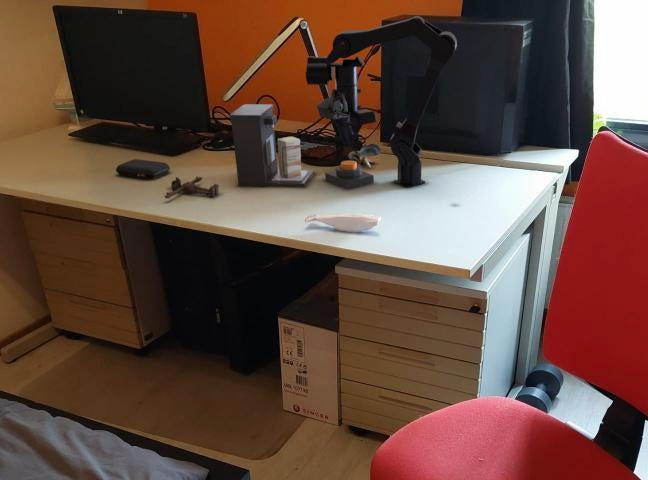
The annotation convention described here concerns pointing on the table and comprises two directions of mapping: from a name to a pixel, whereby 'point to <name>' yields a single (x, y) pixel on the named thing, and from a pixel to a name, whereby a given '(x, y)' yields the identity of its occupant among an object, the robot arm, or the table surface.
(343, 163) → the button
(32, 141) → the table surface
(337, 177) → the dark grey button base
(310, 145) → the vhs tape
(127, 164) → the carrying case
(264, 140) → the coffee maker
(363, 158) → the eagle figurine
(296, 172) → the cream carton
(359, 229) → the white fish figurine
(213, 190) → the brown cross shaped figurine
